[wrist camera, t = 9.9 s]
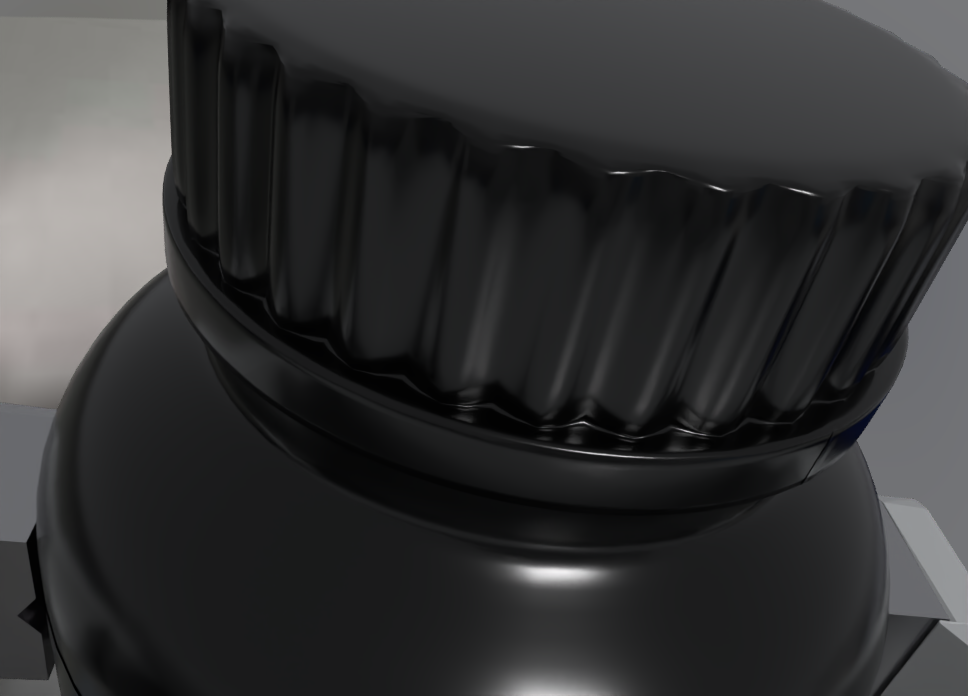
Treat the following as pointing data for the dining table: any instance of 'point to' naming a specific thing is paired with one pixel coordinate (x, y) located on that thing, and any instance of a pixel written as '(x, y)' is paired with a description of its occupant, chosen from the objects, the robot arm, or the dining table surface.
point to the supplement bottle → (506, 355)
